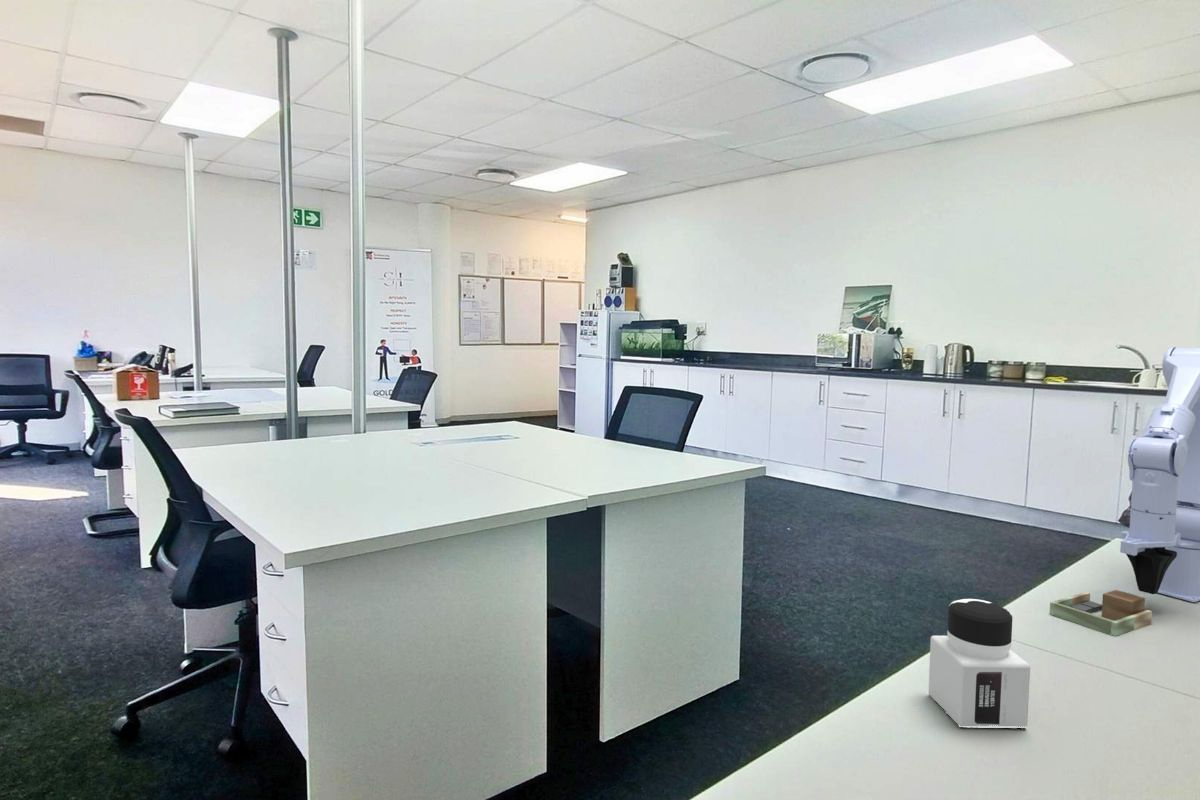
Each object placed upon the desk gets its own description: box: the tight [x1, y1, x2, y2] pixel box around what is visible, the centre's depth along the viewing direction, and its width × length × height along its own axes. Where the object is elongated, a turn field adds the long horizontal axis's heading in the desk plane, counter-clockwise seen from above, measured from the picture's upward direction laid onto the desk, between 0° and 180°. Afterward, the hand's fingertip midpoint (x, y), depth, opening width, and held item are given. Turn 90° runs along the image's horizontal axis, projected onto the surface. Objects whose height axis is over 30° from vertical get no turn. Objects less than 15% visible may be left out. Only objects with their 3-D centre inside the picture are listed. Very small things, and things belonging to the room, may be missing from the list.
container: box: [928, 598, 1031, 727], centre depth 78 cm, size 8×8×13 cm
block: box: [1101, 589, 1146, 621], centre depth 106 cm, size 4×4×4 cm
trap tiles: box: [1071, 600, 1102, 614], centre depth 110 cm, size 6×2×1 cm, turn 117°
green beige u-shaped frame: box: [1049, 591, 1153, 637], centre depth 106 cm, size 10×9×2 cm
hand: (1147, 591), depth 109 cm, fingers closed
